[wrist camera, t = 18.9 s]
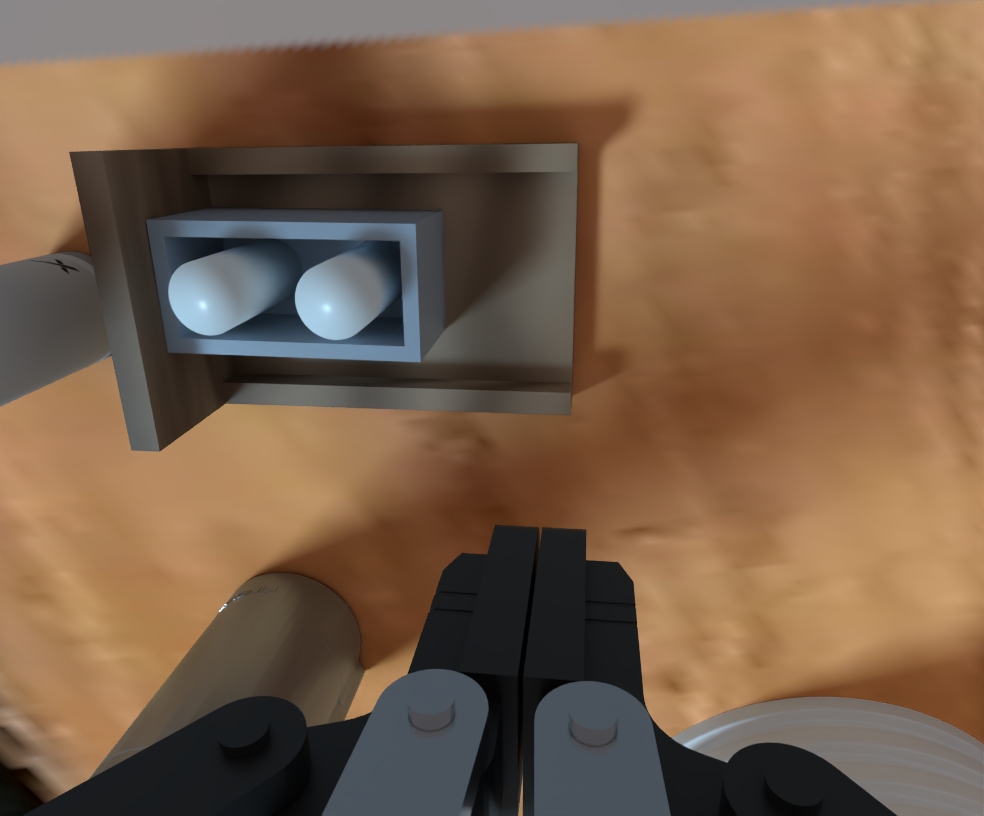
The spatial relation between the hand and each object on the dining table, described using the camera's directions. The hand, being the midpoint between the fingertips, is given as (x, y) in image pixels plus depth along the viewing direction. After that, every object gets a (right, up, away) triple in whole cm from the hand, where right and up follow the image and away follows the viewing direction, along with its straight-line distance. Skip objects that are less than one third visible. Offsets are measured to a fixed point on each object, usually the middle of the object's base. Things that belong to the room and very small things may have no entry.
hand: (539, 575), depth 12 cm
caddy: (-9, +10, +25) cm, 29 cm away
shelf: (-6, +10, +26) cm, 29 cm away
